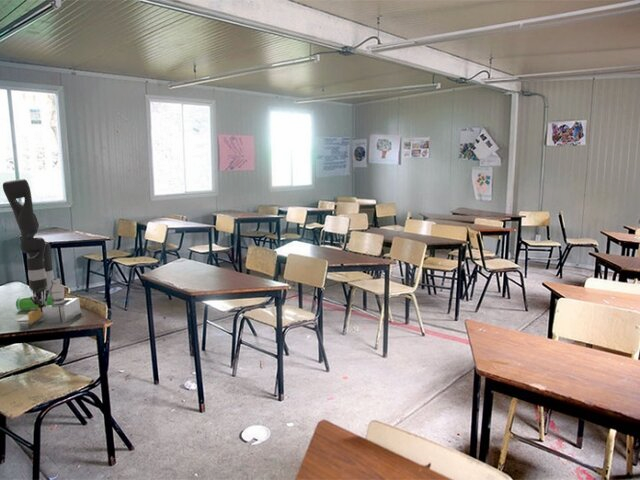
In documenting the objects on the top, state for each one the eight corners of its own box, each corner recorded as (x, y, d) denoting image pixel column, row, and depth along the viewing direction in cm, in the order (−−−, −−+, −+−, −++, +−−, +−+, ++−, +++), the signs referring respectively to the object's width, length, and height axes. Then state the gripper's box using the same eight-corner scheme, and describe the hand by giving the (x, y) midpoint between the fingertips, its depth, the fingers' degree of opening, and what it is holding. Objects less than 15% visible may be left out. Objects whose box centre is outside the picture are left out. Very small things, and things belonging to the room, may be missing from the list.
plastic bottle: (50, 318, 238) (45, 279, 234) (65, 315, 242) (60, 276, 239) (55, 321, 233) (50, 281, 230) (70, 317, 238) (65, 278, 235)
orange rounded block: (37, 319, 236) (35, 306, 235) (43, 319, 236) (41, 305, 235) (28, 325, 228) (26, 311, 227) (34, 324, 228) (32, 310, 227)
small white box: (46, 314, 245) (44, 299, 244) (80, 312, 245) (78, 297, 244) (20, 329, 223) (17, 313, 221) (57, 328, 223) (55, 311, 222)
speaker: (57, 306, 258) (55, 293, 257) (50, 311, 251) (48, 297, 250) (24, 308, 257) (22, 295, 256) (16, 312, 250) (14, 298, 249)
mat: (28, 315, 244) (28, 314, 244) (43, 314, 245) (43, 313, 244) (17, 321, 235) (16, 320, 235) (32, 321, 235) (32, 319, 235)
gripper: (37, 275, 241) (42, 307, 244) (21, 281, 228) (26, 316, 231) (52, 274, 241) (56, 307, 244) (37, 280, 228) (42, 315, 231)
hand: (42, 311), depth 237 cm, fingers closed
